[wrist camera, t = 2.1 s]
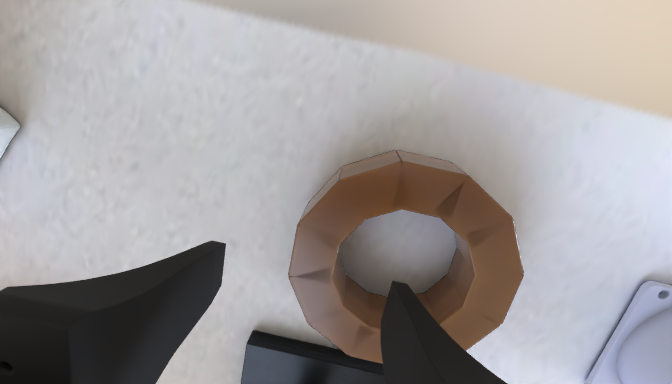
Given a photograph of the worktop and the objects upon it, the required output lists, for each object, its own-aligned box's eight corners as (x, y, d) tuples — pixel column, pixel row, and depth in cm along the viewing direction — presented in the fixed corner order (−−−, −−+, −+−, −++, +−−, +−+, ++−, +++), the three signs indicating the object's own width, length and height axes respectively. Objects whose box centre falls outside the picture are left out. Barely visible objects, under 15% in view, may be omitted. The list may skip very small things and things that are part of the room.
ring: (526, 178, 17) (559, 195, 14) (459, 343, 20) (475, 385, 17) (320, 133, 17) (312, 141, 14) (288, 305, 20) (276, 339, 17)
